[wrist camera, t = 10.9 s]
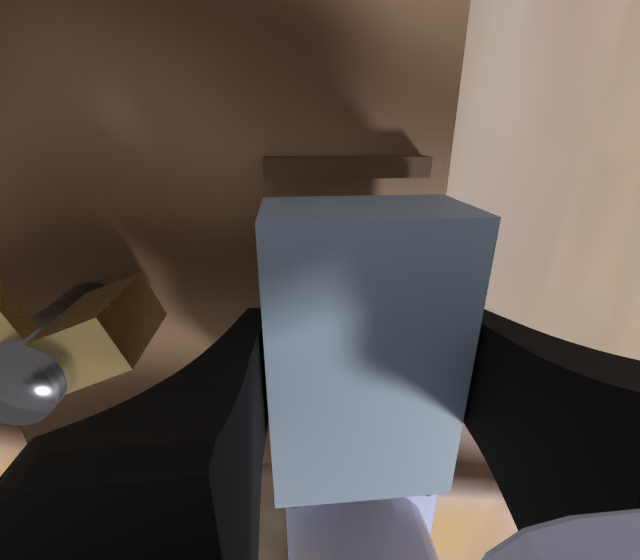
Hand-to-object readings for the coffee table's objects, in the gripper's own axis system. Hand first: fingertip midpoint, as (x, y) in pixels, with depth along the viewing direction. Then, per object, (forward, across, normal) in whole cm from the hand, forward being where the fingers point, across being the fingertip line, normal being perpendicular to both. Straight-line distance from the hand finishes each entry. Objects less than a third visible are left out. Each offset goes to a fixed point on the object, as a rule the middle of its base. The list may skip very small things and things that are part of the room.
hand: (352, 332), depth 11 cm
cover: (0, 0, 0) cm, 0 cm away
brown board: (+4, +4, -1) cm, 6 cm away
